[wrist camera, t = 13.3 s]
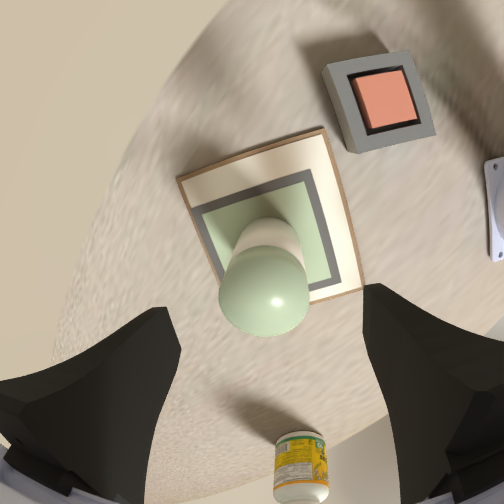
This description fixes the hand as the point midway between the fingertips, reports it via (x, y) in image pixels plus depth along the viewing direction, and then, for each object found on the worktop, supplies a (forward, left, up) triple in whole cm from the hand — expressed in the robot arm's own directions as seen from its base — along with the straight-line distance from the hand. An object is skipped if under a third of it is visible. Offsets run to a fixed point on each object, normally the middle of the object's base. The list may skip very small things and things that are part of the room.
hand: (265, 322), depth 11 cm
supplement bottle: (+4, +23, -10) cm, 25 cm away
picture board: (0, 0, -9) cm, 9 cm away
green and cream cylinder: (0, 0, -9) cm, 9 cm away
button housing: (-9, -6, -9) cm, 14 cm away
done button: (-9, -6, -8) cm, 13 cm away
